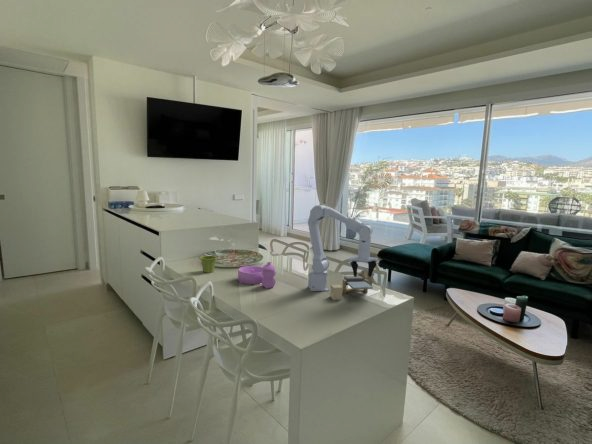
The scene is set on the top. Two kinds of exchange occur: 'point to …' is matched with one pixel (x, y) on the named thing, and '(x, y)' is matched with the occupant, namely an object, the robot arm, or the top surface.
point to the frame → (353, 289)
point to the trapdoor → (357, 285)
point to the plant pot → (208, 263)
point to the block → (336, 292)
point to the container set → (258, 275)
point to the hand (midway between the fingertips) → (362, 276)
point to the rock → (365, 276)
